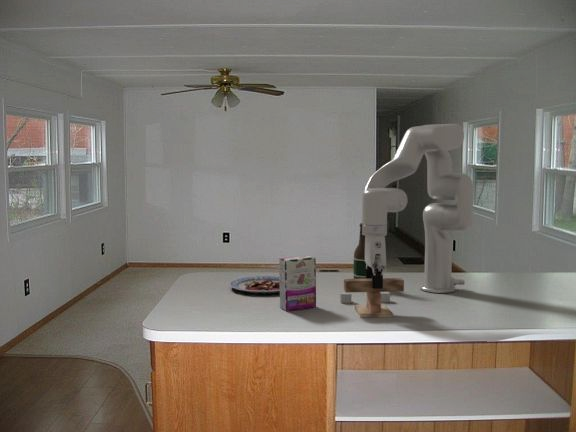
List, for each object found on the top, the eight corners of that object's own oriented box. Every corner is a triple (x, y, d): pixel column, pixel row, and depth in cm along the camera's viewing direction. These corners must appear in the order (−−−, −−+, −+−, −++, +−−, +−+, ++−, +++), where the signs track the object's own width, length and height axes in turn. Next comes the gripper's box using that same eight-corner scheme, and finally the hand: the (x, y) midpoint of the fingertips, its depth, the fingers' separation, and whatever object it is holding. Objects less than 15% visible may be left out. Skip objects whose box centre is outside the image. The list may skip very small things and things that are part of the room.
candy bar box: (309, 304, 191) (309, 254, 190) (316, 307, 187) (316, 257, 185) (278, 308, 186) (278, 257, 185) (285, 311, 182) (285, 260, 180)
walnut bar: (400, 288, 182) (400, 277, 181) (403, 291, 178) (403, 280, 178) (343, 289, 180) (344, 278, 180) (345, 292, 177) (345, 281, 177)
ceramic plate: (313, 290, 211) (313, 282, 211) (252, 300, 197) (252, 292, 197) (274, 278, 233) (274, 271, 232) (217, 287, 218) (217, 279, 218)
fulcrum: (385, 308, 185) (385, 286, 185) (393, 316, 175) (393, 294, 175) (354, 309, 185) (354, 287, 184) (360, 317, 175) (360, 294, 174)
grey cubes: (388, 300, 196) (388, 291, 195) (389, 302, 193) (390, 293, 193) (339, 301, 195) (339, 292, 194) (340, 303, 192) (340, 294, 192)
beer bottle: (373, 285, 220) (374, 222, 217) (374, 289, 212) (375, 224, 209) (353, 284, 220) (353, 222, 218) (353, 289, 213) (354, 224, 210)
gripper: (393, 233, 169) (392, 291, 171) (380, 226, 186) (379, 278, 188) (368, 233, 169) (367, 291, 170) (357, 226, 186) (356, 279, 188)
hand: (373, 284), depth 179 cm, fingers open, 9 cm apart
